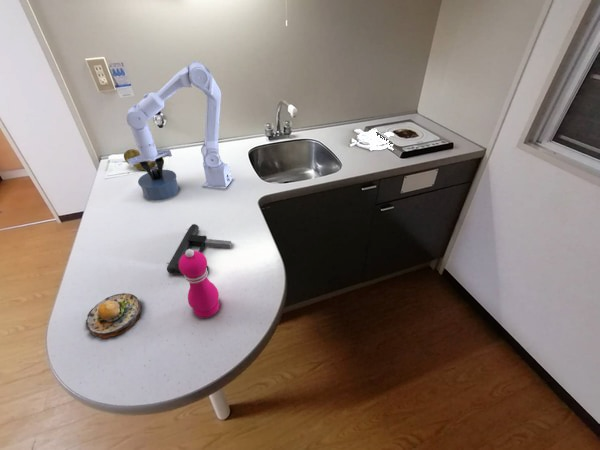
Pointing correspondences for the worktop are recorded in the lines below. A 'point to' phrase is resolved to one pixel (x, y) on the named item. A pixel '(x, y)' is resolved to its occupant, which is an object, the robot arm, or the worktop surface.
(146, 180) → the lid
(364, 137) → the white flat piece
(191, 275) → the pepper mill
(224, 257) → the worktop surface
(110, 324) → the burger on plate
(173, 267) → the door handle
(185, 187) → the worktop surface
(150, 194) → the pot
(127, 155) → the potato
